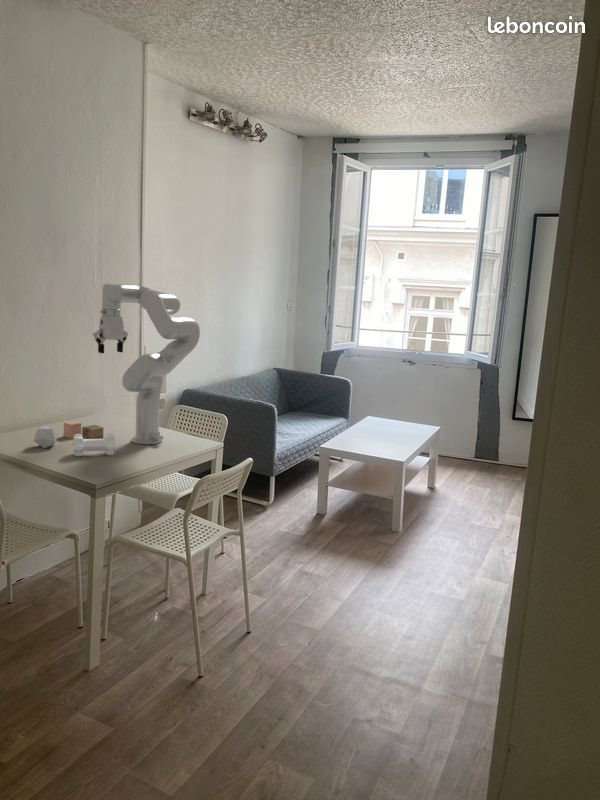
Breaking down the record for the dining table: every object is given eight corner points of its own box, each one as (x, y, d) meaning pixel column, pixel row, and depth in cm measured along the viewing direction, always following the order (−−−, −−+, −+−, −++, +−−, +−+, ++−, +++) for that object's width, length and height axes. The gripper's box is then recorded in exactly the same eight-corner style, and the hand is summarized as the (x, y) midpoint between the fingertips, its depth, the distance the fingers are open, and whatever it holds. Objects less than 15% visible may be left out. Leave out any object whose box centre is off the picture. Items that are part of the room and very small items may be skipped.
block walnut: (103, 441, 262) (103, 427, 261) (91, 443, 257) (91, 429, 256) (94, 438, 265) (94, 424, 264) (82, 440, 260) (82, 426, 259)
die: (60, 449, 247) (63, 427, 251) (43, 443, 240) (46, 420, 244) (44, 454, 250) (47, 431, 254) (27, 447, 243) (31, 424, 247)
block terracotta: (81, 436, 266) (81, 423, 265) (70, 438, 262) (70, 424, 261) (74, 434, 269) (74, 420, 268) (63, 436, 265) (63, 422, 264)
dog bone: (112, 451, 249) (113, 431, 247) (115, 457, 241) (115, 436, 239) (72, 452, 243) (72, 432, 241) (74, 459, 235) (74, 438, 233)
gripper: (99, 313, 260) (99, 354, 263) (133, 313, 274) (132, 352, 277) (88, 312, 264) (88, 352, 268) (122, 312, 278) (121, 350, 281)
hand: (110, 352), depth 272 cm, fingers open, 9 cm apart
